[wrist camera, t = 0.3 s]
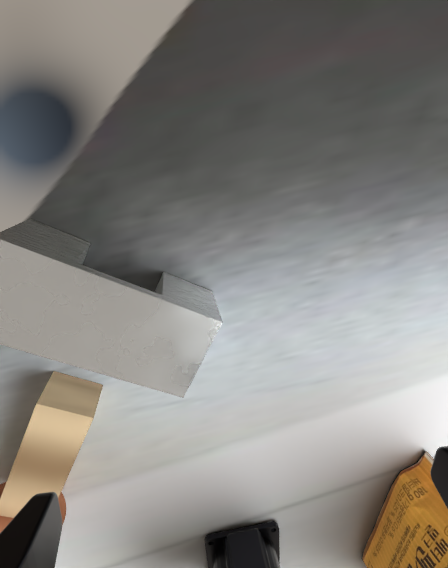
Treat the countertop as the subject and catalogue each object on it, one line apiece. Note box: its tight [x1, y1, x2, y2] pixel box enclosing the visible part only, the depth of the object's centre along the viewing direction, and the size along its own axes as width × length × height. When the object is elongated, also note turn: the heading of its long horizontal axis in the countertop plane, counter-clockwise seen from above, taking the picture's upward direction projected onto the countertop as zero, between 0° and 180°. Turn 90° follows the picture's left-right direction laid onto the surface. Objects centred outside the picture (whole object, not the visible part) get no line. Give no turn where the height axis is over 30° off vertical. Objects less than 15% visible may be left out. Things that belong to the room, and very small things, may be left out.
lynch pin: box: [0, 371, 103, 533], centre depth 21 cm, size 10×5×5 cm, turn 154°
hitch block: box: [0, 219, 222, 397], centre depth 19 cm, size 5×11×4 cm, turn 64°
